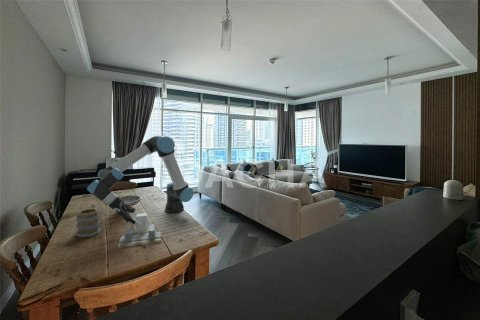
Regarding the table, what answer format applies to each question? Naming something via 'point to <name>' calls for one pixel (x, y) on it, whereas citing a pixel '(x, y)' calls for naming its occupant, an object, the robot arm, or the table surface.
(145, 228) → the block
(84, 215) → the tankard
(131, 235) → the mounted modules
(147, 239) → the mounting board
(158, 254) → the table surface
